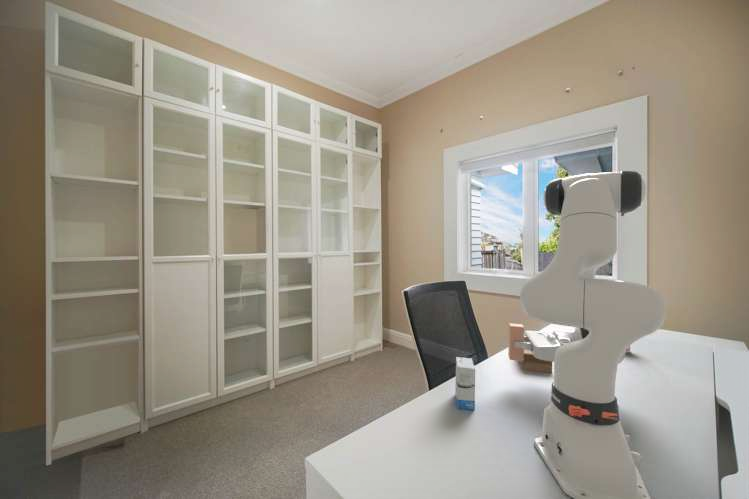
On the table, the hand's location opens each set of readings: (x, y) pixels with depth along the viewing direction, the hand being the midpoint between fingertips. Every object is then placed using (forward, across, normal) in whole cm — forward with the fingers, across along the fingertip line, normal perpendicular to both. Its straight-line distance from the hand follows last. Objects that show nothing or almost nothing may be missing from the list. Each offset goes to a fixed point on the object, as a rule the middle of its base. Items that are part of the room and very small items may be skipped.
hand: (513, 341), depth 100 cm
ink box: (+15, +16, +15) cm, 27 cm away
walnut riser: (-10, -21, +14) cm, 27 cm away
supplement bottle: (-50, -51, +13) cm, 72 cm away
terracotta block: (-1, 0, +6) cm, 6 cm away
